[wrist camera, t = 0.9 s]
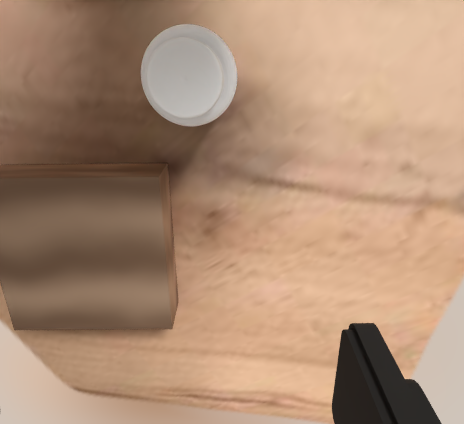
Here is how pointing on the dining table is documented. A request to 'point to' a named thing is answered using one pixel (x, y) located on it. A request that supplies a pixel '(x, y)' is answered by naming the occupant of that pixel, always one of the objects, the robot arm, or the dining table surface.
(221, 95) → the supplement bottle
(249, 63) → the dining table surface
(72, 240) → the walnut base
